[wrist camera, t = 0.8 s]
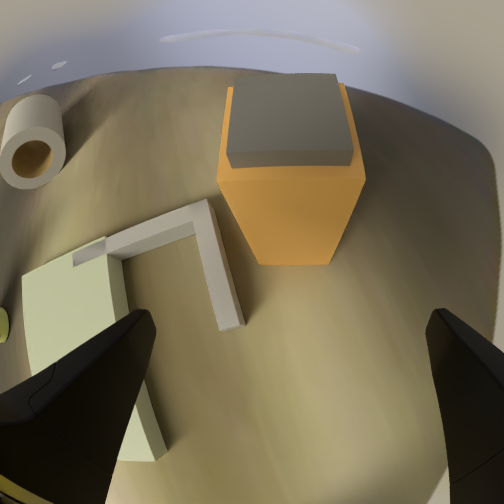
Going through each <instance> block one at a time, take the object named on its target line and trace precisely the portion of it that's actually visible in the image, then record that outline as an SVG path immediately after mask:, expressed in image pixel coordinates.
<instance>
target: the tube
mask: <svg viewBox="0 0 504 504" xmlns="http://www.w3.org/2000/svg"><path fill="white" fill-rule="evenodd" d="M8 332H9V320H8V315H7V313H6V311H5V310H4V309H3V308H1V307H0V342H5V341H6V339H7V337H8Z"/></svg>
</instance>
